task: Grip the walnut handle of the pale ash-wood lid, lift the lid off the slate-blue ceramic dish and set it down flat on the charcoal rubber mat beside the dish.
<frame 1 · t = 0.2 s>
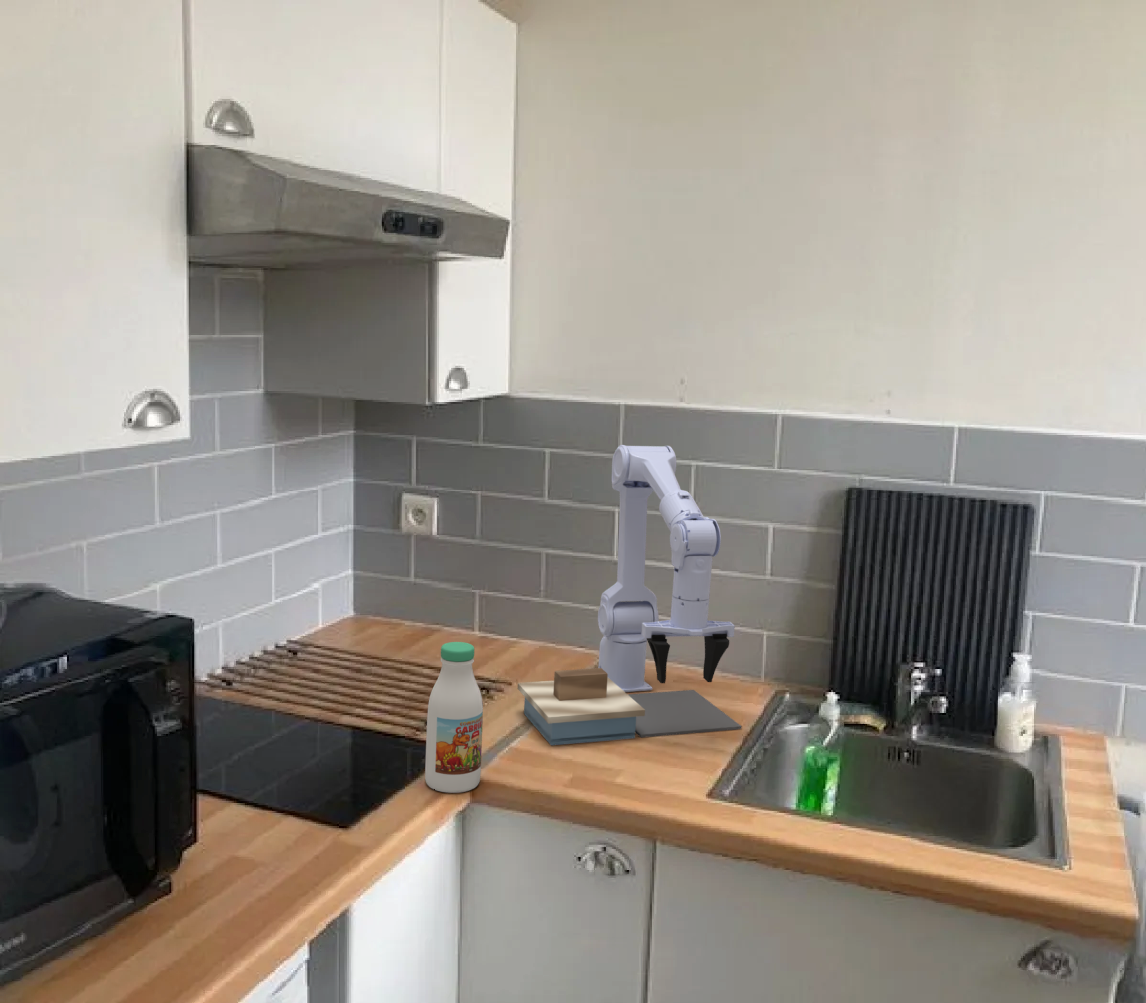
hand: (684, 680, 177), 10 cm above the worktop, tool pointing down, fingers open, 7 cm apart
milk bottle: (452, 784, 159), on the worktop
lid: (579, 702, 182), point 4 cm above the worktop, touching dish
dish: (578, 725, 183), on the worktop
mat: (668, 713, 191), on the worktop
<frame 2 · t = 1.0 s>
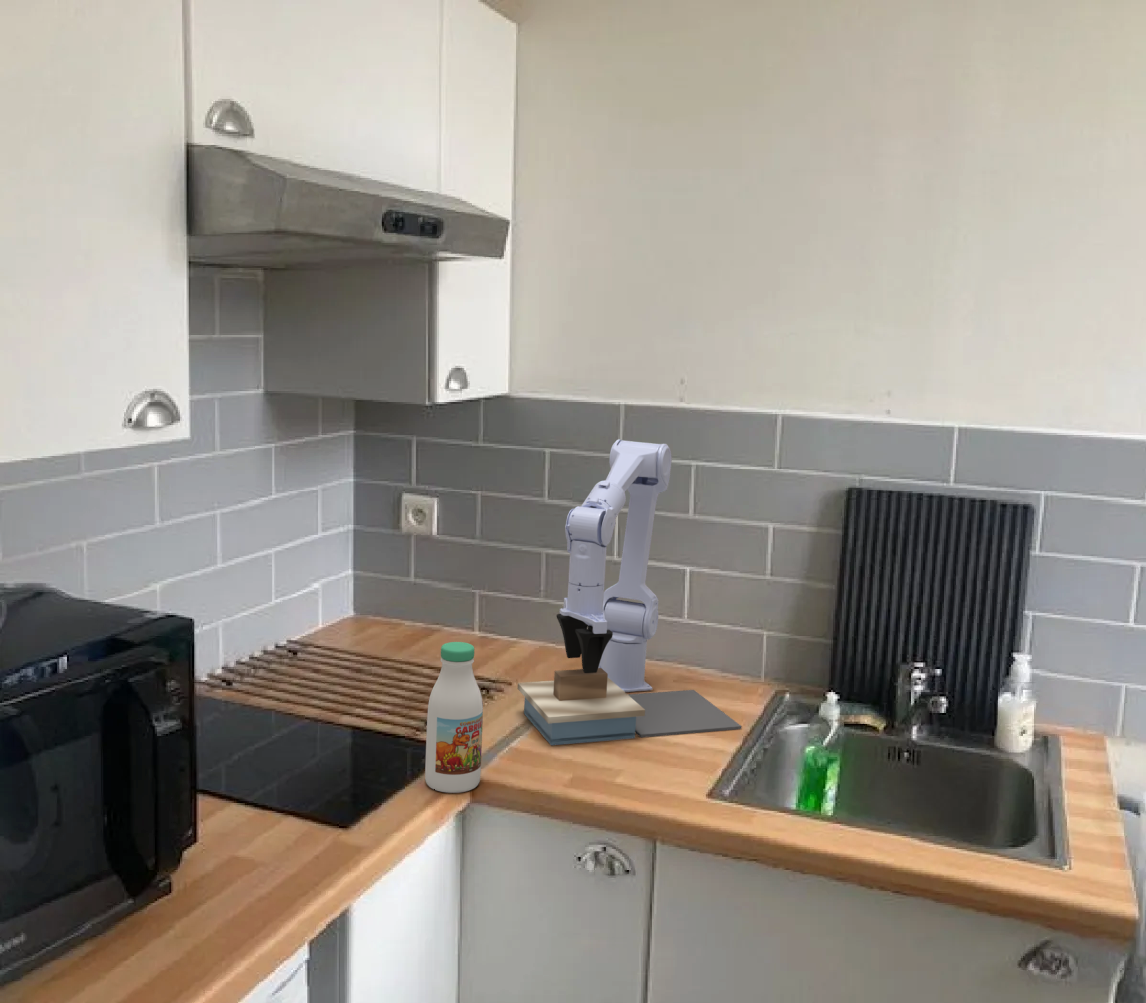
hand: (581, 664, 181), 10 cm above the worktop, tool pointing down, fingers open, 7 cm apart
nothing on the worktop moved.
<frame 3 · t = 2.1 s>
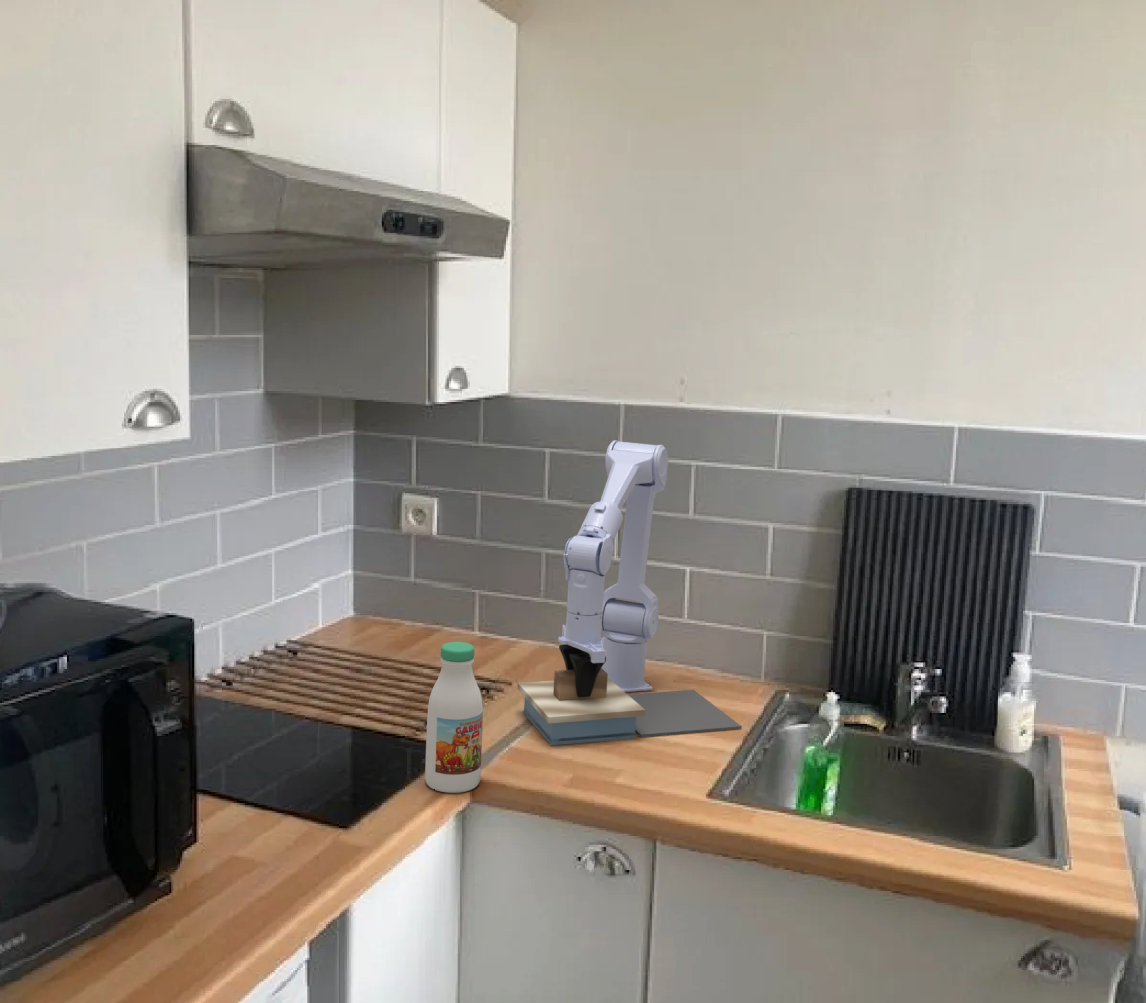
hand: (580, 692, 182), 6 cm above the worktop, tool pointing down, fingers closed on lid, 3 cm apart
lid: (579, 702, 182), point 4 cm above the worktop, touching dish, gripper
everything else where it was.
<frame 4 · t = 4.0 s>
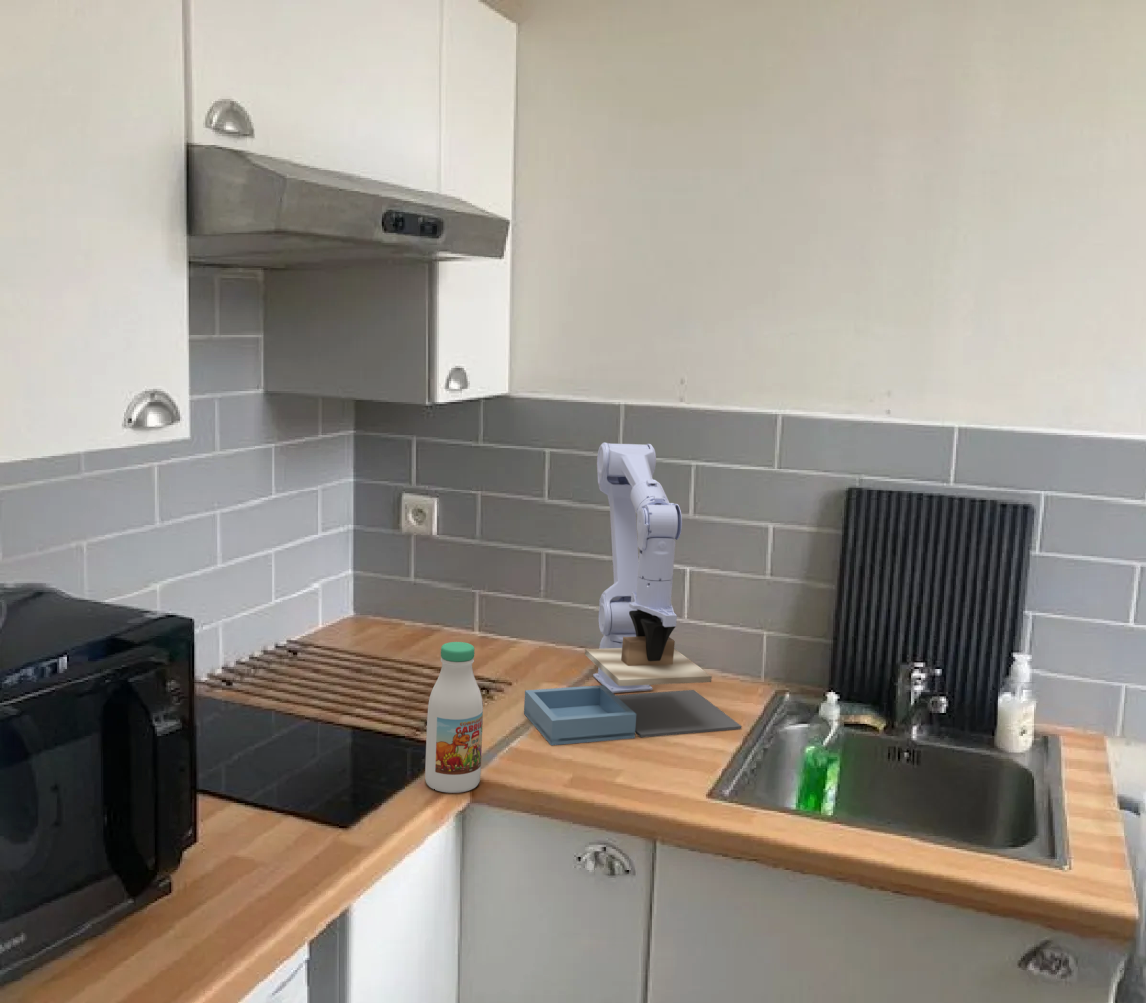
hand: (649, 657, 187), 10 cm above the worktop, tool pointing down, fingers closed on lid, 3 cm apart
lid: (646, 668, 187), point 8 cm above the worktop, touching gripper
everything else where it was.
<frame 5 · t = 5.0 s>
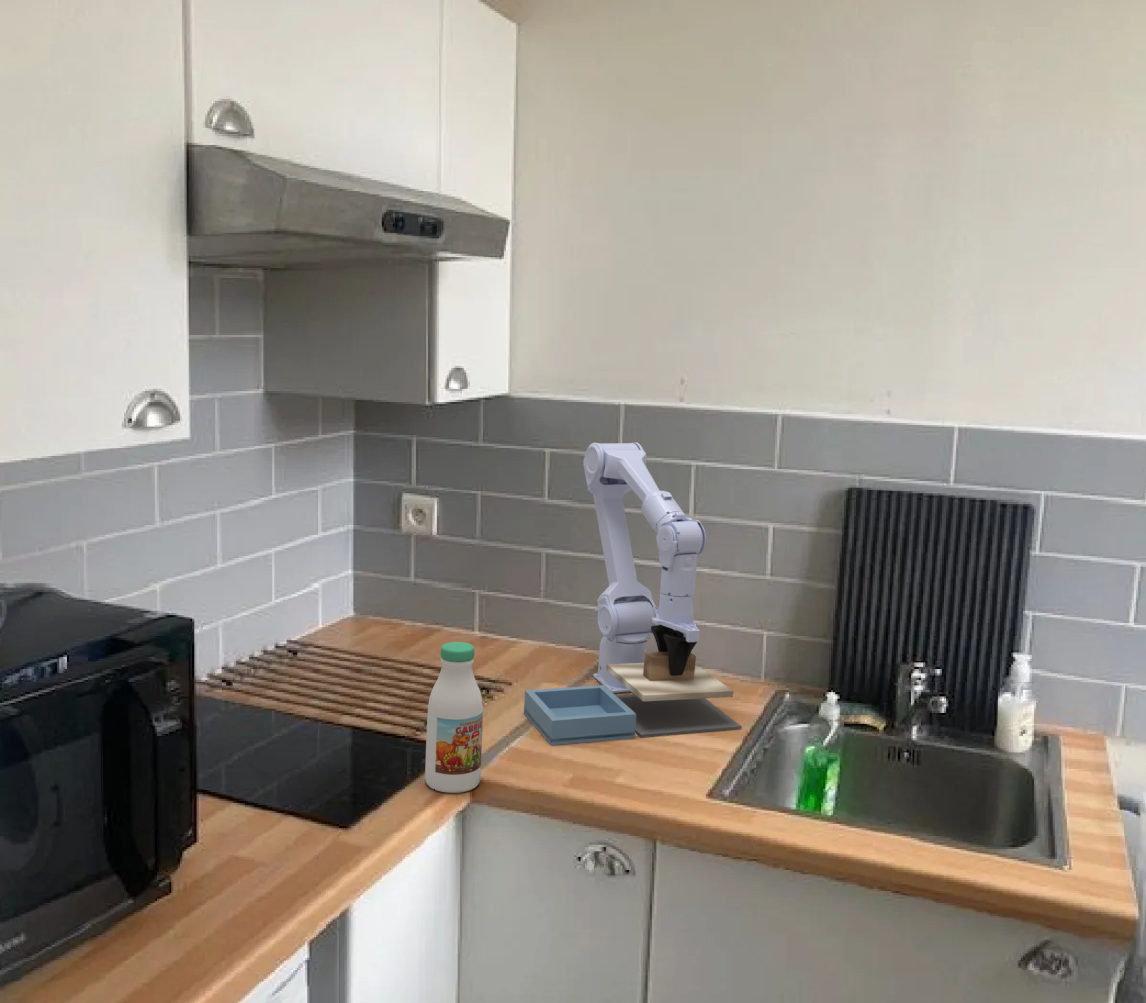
hand: (671, 671, 189), 7 cm above the worktop, tool pointing down, fingers closed on lid, 3 cm apart
lid: (667, 683, 190), point 5 cm above the worktop, touching gripper
everything else where it was.
when the fingers open (3 cm above the worktop, at t = 6.0 s): lid stays where it is, resting on mat.
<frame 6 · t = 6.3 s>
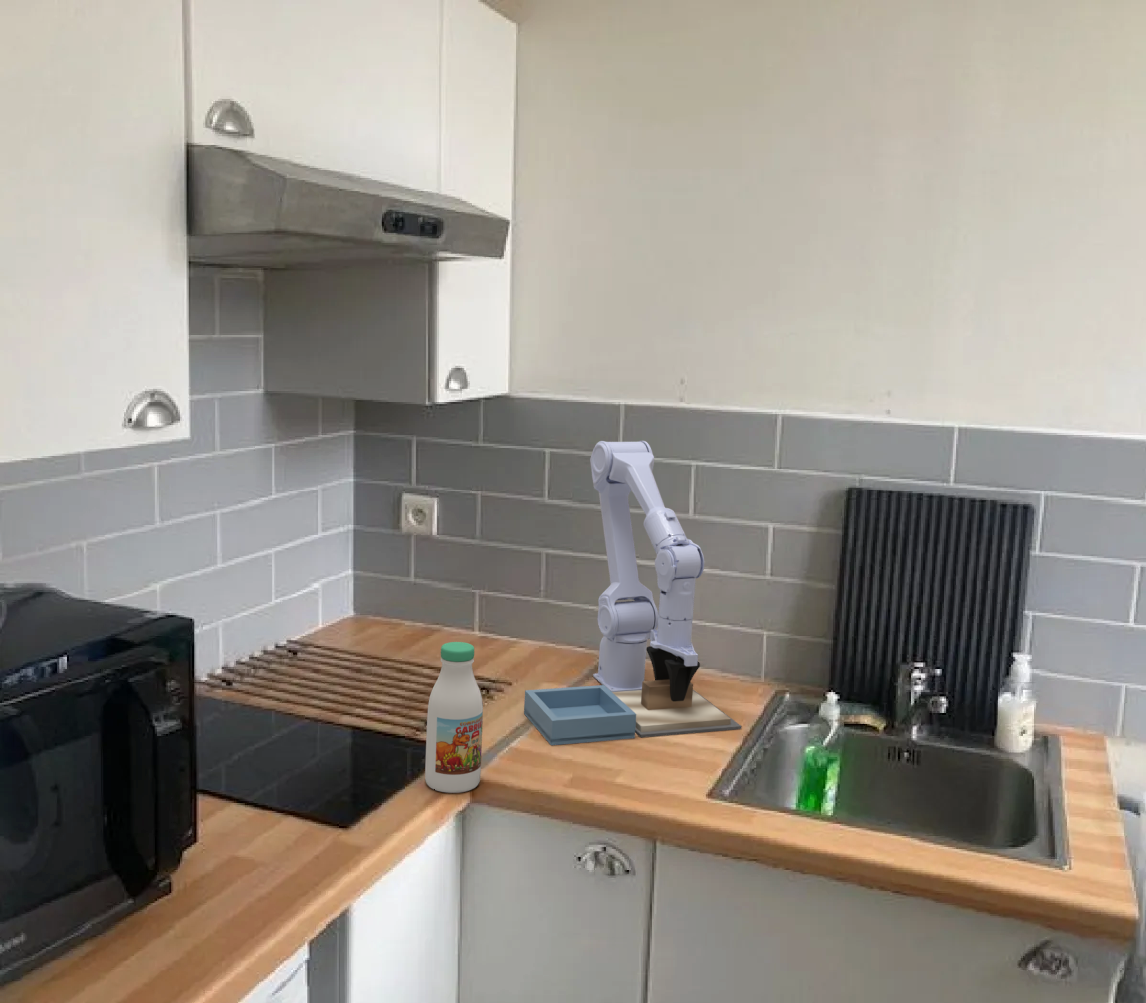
hand: (669, 694, 190), 3 cm above the worktop, tool pointing down, fingers open, 5 cm apart
lid: (665, 711, 190), resting on mat
everything else where it was.
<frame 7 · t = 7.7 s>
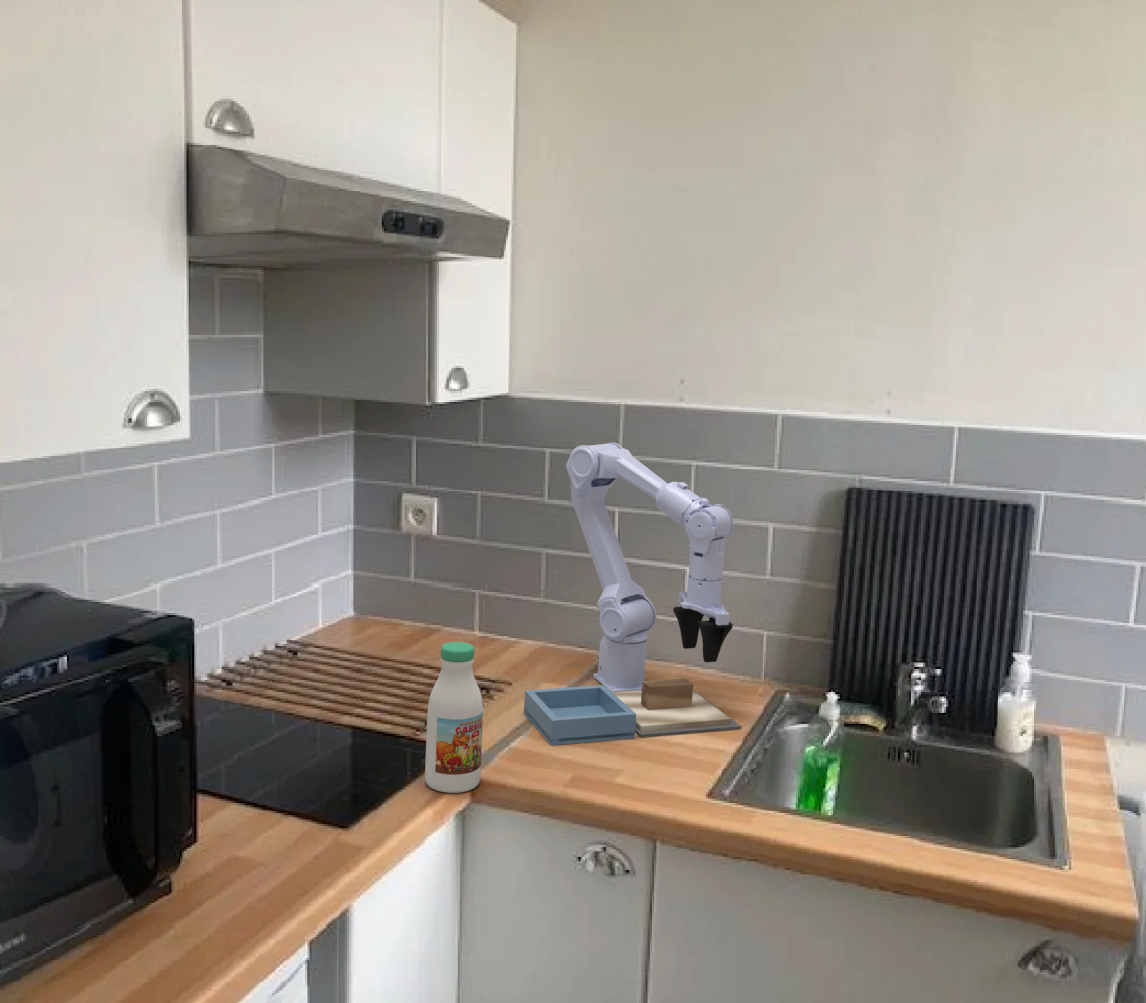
hand: (699, 654, 193), 9 cm above the worktop, tool pointing down, fingers open, 7 cm apart
nothing on the worktop moved.
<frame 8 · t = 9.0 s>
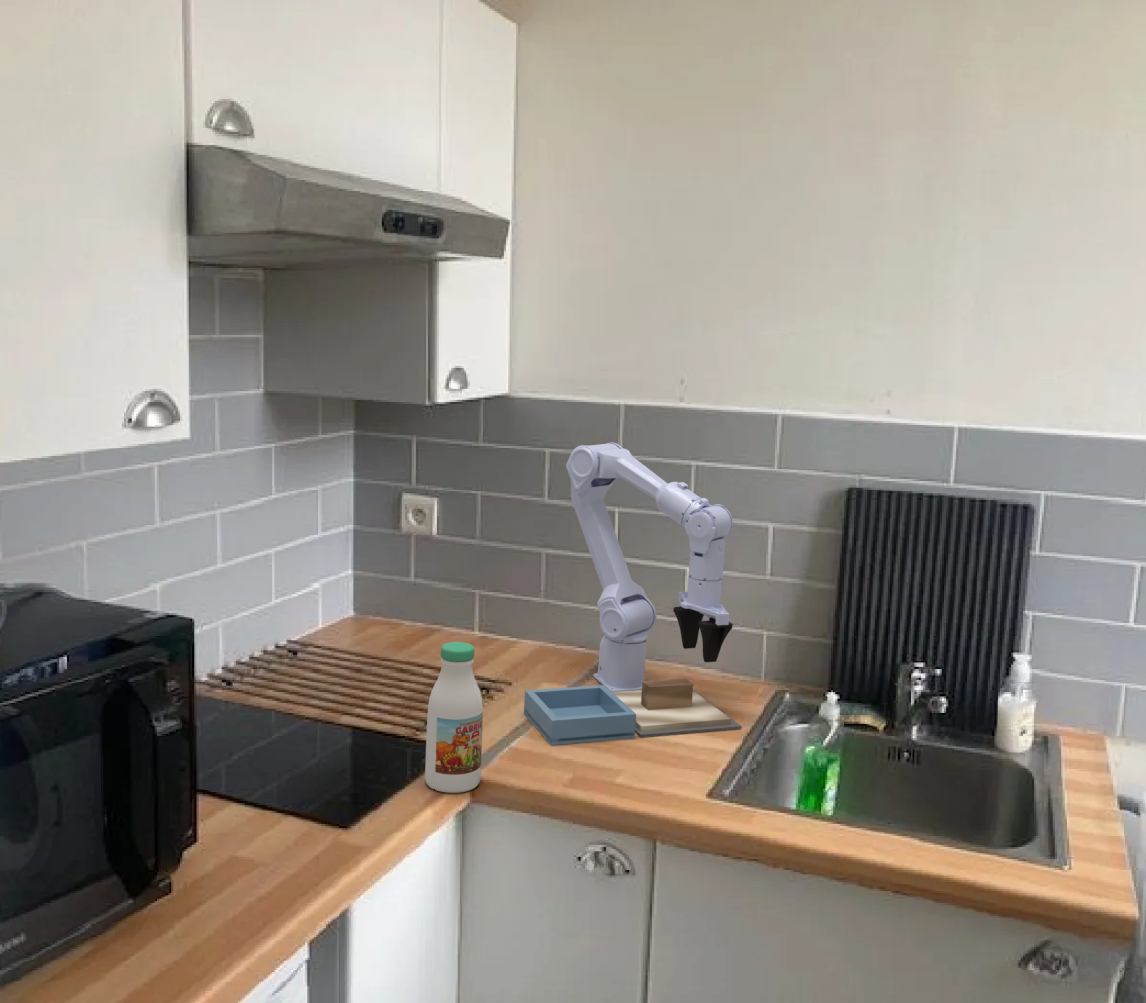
hand: (699, 654, 193), 9 cm above the worktop, tool pointing down, fingers open, 7 cm apart
nothing on the worktop moved.
at the end: lid inside the target area on the mat (0.6 cm from its centre), point 0.5 cm above the mat's base; lid touching mat; lid tilted 0° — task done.
